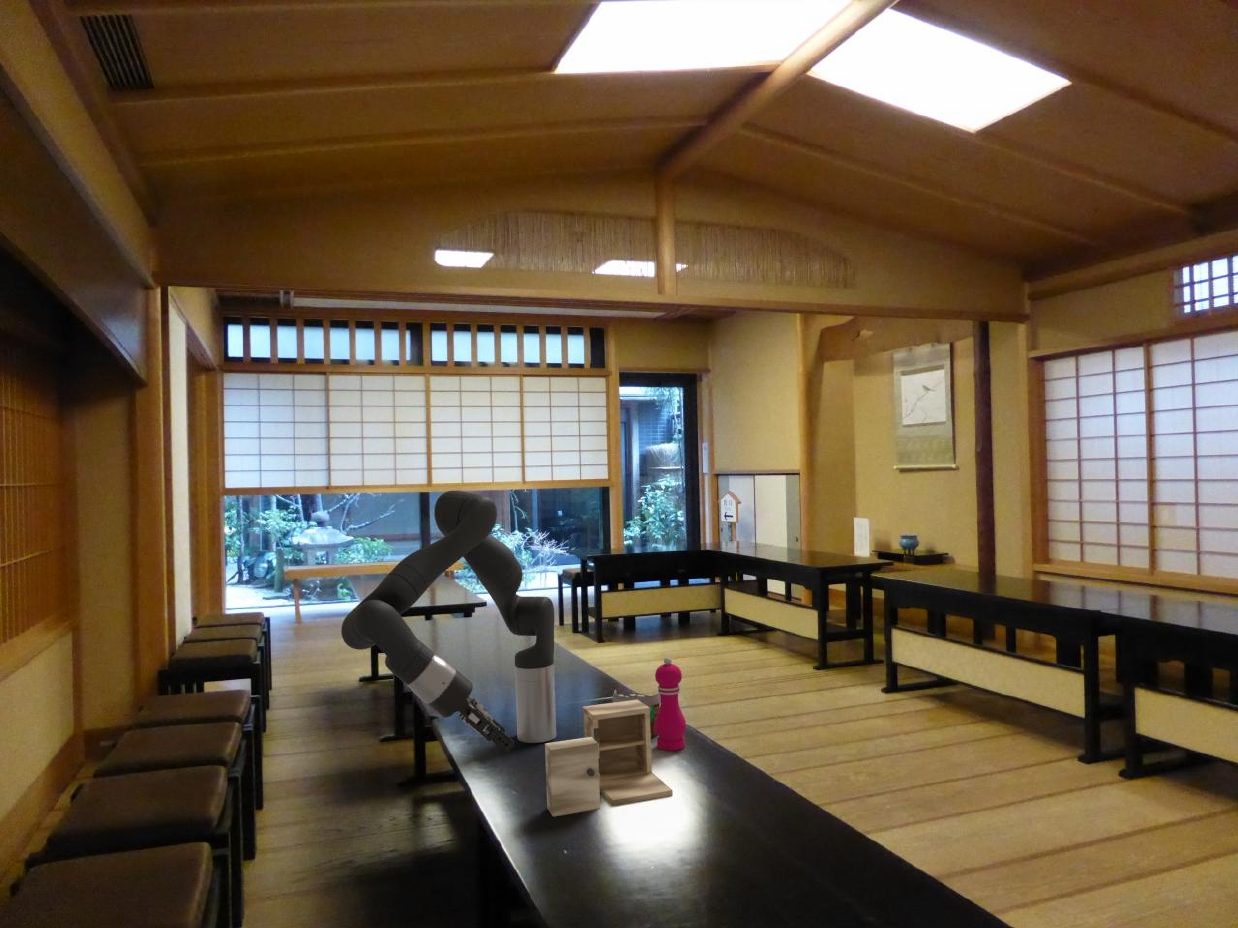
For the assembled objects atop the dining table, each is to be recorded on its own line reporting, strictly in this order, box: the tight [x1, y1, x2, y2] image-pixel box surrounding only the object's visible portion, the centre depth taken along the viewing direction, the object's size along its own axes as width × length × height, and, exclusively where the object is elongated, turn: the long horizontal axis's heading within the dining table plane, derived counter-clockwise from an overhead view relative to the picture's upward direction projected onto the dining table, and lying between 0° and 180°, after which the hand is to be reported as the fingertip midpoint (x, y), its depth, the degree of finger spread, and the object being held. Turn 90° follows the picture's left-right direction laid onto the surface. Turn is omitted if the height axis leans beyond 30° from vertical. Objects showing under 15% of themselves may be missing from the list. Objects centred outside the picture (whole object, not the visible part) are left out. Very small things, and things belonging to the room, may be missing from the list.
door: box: [544, 737, 601, 817], centre depth 153 cm, size 5×9×12 cm, turn 110°
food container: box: [612, 689, 661, 739], centre depth 194 cm, size 12×6×10 cm, turn 68°
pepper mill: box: [654, 656, 687, 752], centre depth 186 cm, size 7×7×20 cm
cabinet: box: [582, 700, 673, 807], centre depth 164 cm, size 18×12×14 cm
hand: (506, 740), depth 150 cm, fingers open, 8 cm apart
